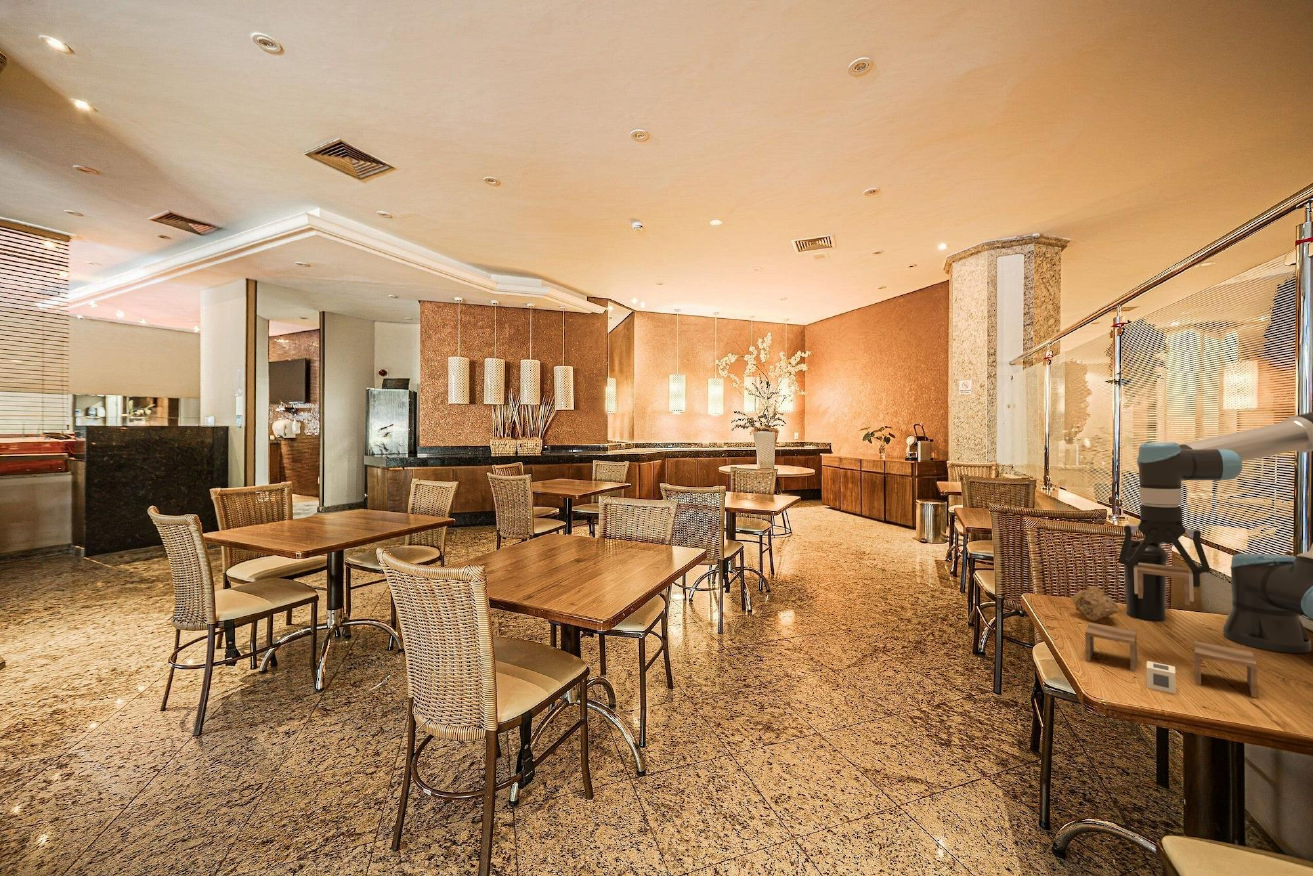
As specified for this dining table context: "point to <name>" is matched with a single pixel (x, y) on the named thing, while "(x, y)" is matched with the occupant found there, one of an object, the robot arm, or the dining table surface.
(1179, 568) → the cover
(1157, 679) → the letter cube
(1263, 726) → the dining table surface
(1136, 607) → the water bottle
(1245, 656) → the cover
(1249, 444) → the robot arm
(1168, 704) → the dining table surface
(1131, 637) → the cover
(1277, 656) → the dining table surface
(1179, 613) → the dining table surface
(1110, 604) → the rock
